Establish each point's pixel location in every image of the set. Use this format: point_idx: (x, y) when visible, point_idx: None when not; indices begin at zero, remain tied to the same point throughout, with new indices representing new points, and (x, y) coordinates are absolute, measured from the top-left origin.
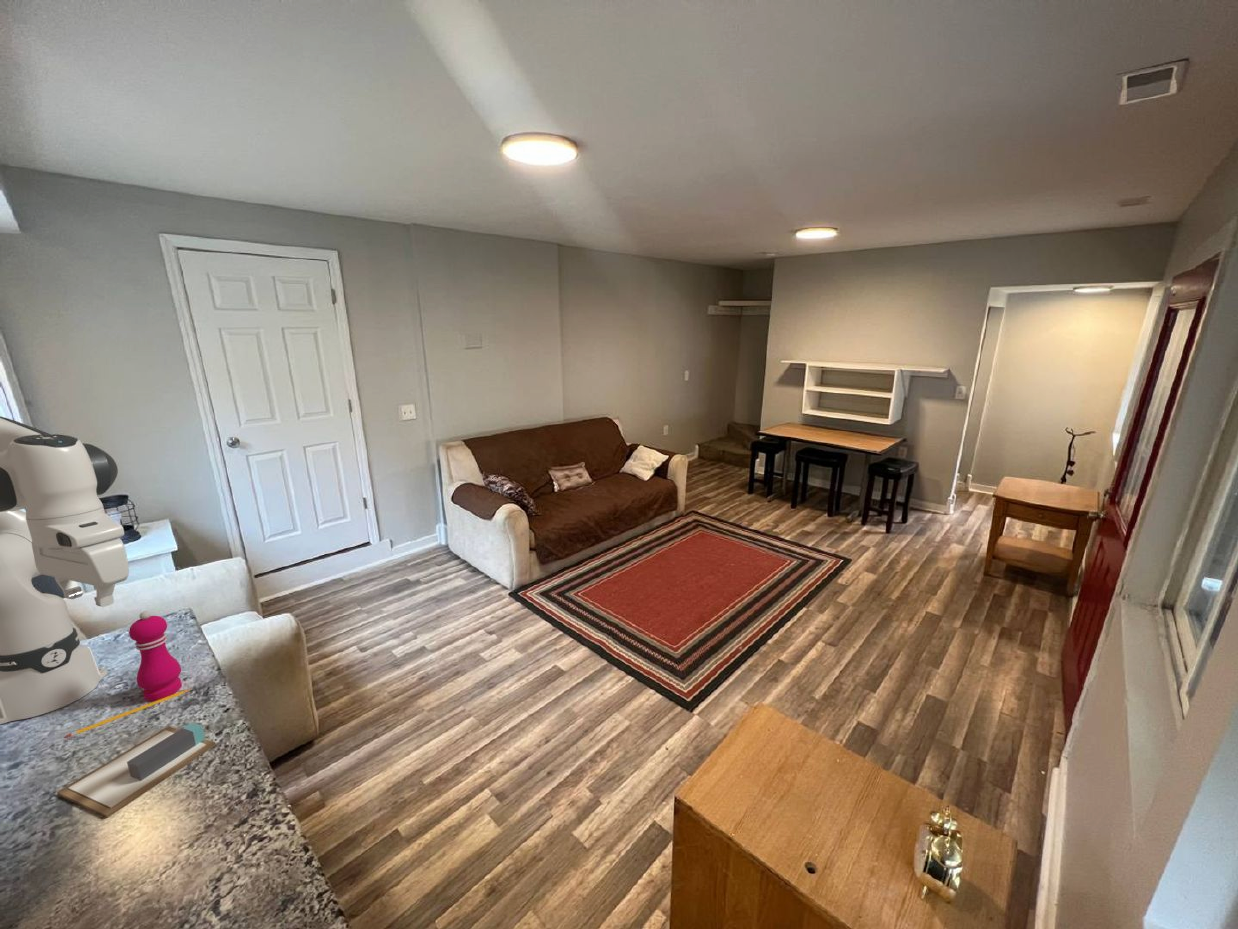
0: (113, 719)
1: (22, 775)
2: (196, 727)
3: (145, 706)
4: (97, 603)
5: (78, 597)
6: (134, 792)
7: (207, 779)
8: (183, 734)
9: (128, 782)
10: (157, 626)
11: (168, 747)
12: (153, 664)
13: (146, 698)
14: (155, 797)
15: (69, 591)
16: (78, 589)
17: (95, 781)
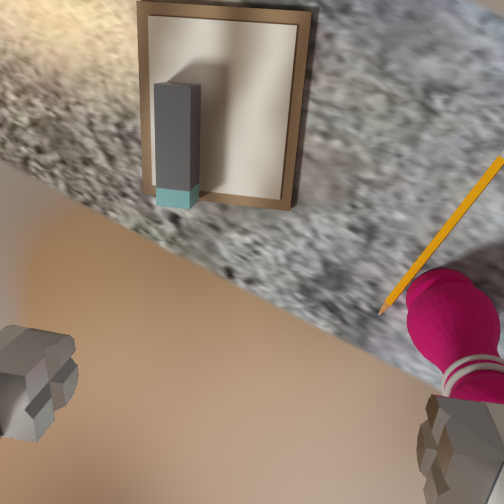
0: (459, 207)
1: (475, 28)
2: (163, 199)
3: (425, 252)
4: (31, 341)
5: (421, 425)
6: (148, 57)
7: (68, 122)
8: (165, 177)
9: (186, 71)
10: None
11: (155, 141)
12: (442, 331)
13: (448, 271)
14: (110, 65)
15: (445, 455)
16: (429, 492)
17: (257, 54)
